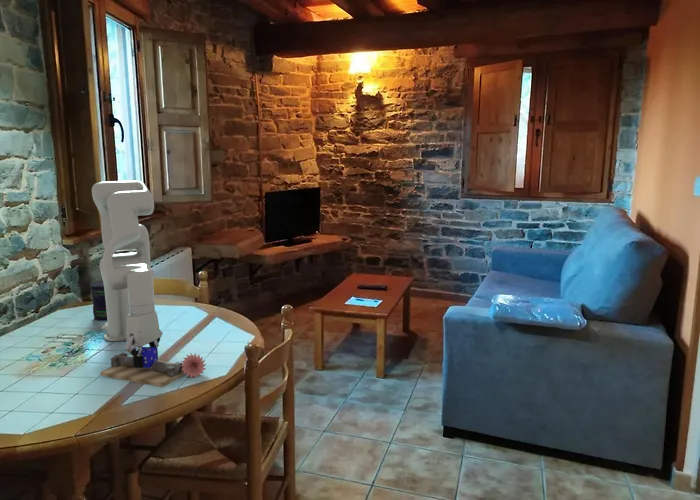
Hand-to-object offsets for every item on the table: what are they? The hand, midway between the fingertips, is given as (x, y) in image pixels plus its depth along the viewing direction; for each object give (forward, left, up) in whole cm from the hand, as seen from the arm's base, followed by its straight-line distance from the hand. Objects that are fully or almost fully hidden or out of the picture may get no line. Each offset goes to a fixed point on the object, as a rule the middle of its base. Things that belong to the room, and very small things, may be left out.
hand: (146, 362), depth 170 cm
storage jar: (-57, +40, -3) cm, 70 cm away
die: (0, 0, -1) cm, 1 cm away
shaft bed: (0, 0, -3) cm, 3 cm away
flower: (+15, +4, -3) cm, 16 cm away
